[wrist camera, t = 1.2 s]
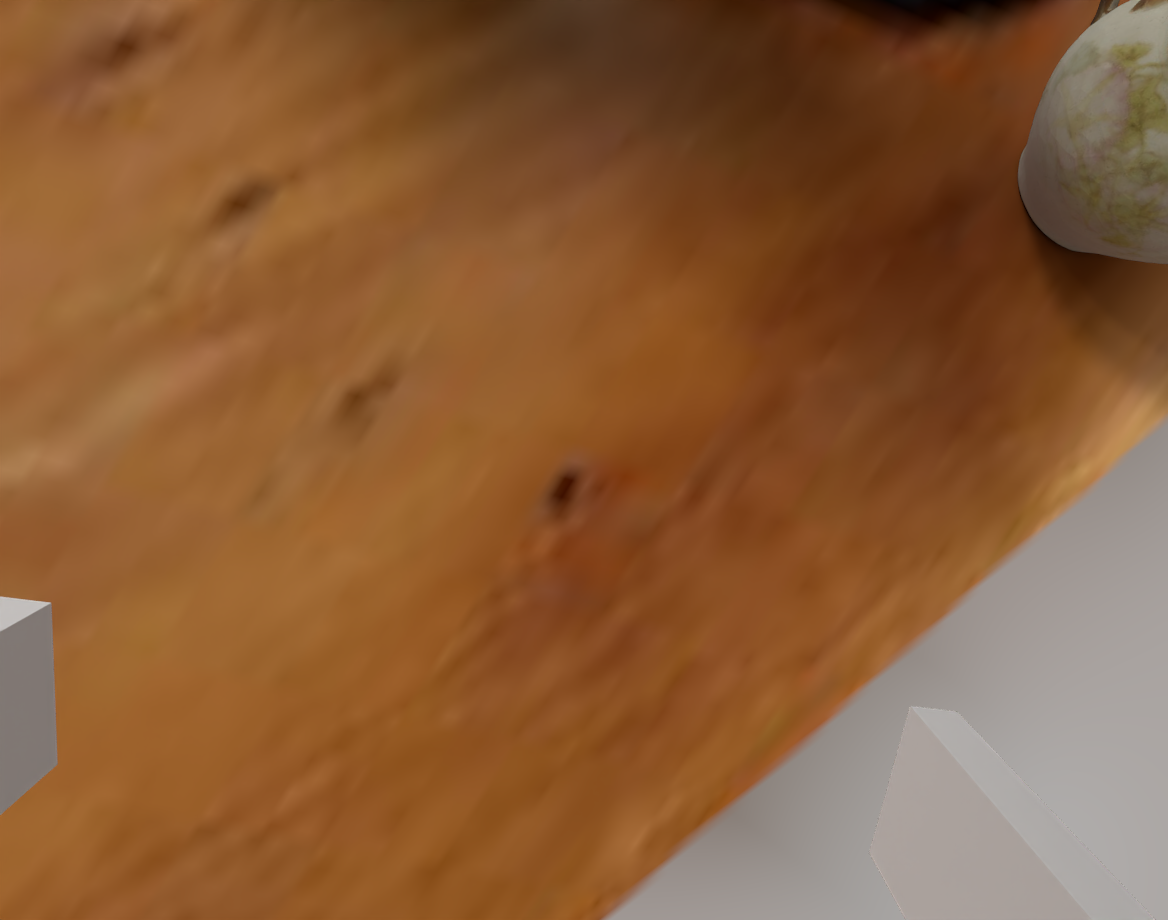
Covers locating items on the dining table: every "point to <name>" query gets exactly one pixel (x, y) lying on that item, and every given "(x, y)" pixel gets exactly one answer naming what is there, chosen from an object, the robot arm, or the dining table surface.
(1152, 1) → the sugar bowl
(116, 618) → the dining table surface
